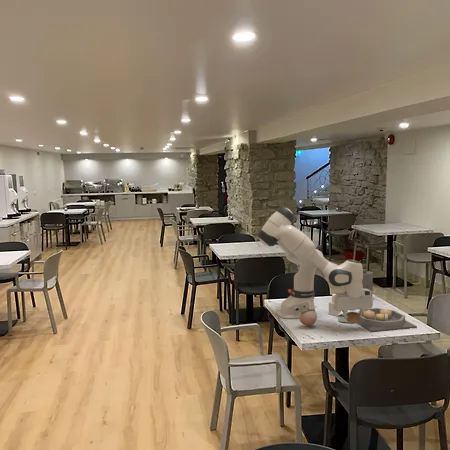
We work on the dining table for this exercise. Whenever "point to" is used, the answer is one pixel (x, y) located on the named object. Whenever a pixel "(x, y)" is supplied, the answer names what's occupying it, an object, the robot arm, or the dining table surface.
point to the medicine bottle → (331, 306)
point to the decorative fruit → (308, 317)
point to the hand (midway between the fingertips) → (353, 317)
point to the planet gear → (353, 317)
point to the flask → (367, 280)
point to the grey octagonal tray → (383, 320)
